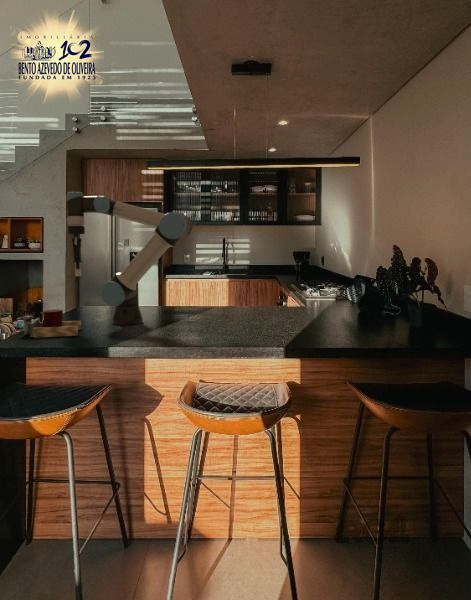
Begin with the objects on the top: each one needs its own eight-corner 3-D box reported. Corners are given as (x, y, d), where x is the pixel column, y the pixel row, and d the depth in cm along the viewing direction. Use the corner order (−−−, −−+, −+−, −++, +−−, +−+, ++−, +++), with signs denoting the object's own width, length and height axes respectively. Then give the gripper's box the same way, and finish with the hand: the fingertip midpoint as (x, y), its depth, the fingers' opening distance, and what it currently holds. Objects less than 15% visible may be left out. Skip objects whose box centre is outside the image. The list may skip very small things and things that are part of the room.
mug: (54, 335, 213) (53, 312, 212) (37, 335, 215) (36, 312, 214) (67, 331, 224) (65, 309, 222) (51, 330, 225) (49, 309, 224)
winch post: (34, 333, 219) (33, 315, 218) (33, 335, 215) (32, 317, 214) (24, 333, 218) (23, 316, 217) (22, 335, 214) (21, 317, 213)
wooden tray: (81, 329, 229) (80, 316, 228) (77, 335, 213) (77, 321, 212) (37, 331, 225) (36, 318, 224) (30, 337, 209) (29, 323, 208)
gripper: (69, 226, 236) (71, 275, 239) (66, 225, 224) (68, 277, 226) (85, 226, 238) (87, 275, 241) (83, 225, 225) (85, 276, 228)
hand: (78, 275), depth 233 cm, fingers closed
